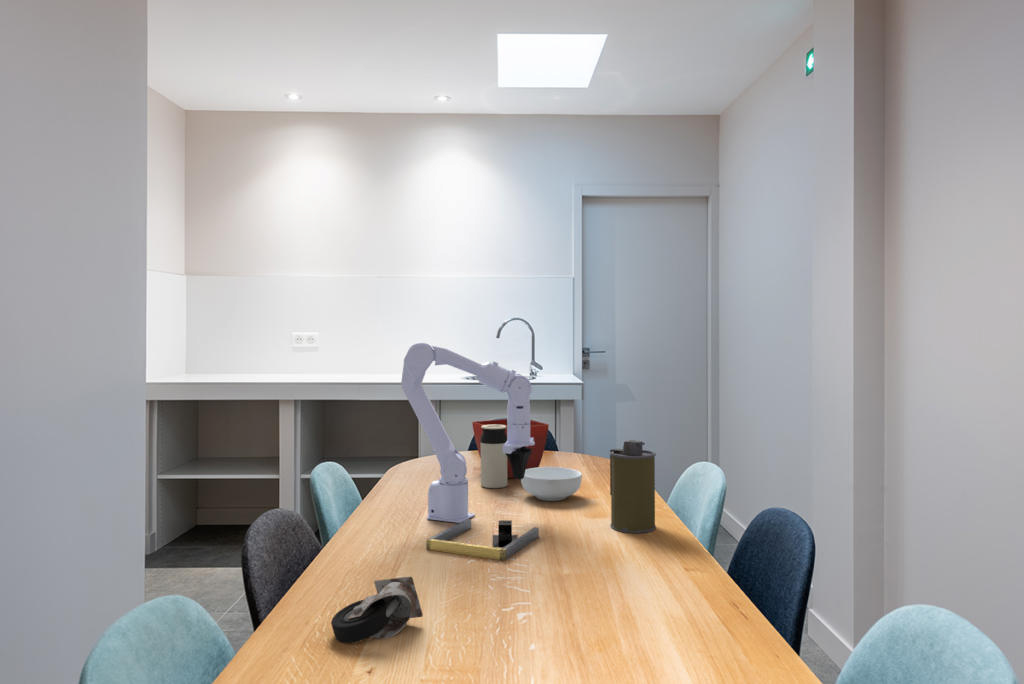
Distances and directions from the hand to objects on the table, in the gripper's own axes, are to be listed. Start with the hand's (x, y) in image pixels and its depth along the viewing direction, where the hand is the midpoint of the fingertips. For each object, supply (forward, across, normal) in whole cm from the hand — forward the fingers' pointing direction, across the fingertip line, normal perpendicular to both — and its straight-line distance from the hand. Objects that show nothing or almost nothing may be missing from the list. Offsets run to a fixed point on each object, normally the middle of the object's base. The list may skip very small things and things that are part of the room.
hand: (518, 478), depth 168 cm
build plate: (+10, -20, -6) cm, 23 cm away
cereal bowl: (+10, +22, 0) cm, 24 cm away
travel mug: (+10, +29, +21) cm, 37 cm away
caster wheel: (+10, -70, -7) cm, 71 cm away
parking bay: (+9, -22, -2) cm, 24 cm away
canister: (+10, +2, -28) cm, 30 cm away
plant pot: (+10, +47, +24) cm, 54 cm away
